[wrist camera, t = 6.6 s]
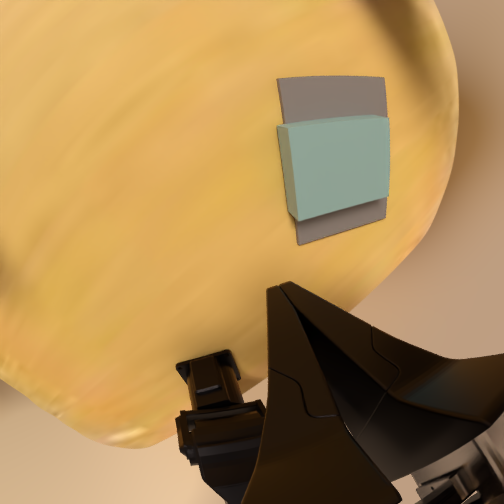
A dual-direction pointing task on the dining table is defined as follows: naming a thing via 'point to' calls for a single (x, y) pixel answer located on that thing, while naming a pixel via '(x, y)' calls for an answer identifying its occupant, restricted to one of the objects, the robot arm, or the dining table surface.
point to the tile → (334, 163)
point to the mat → (331, 106)
